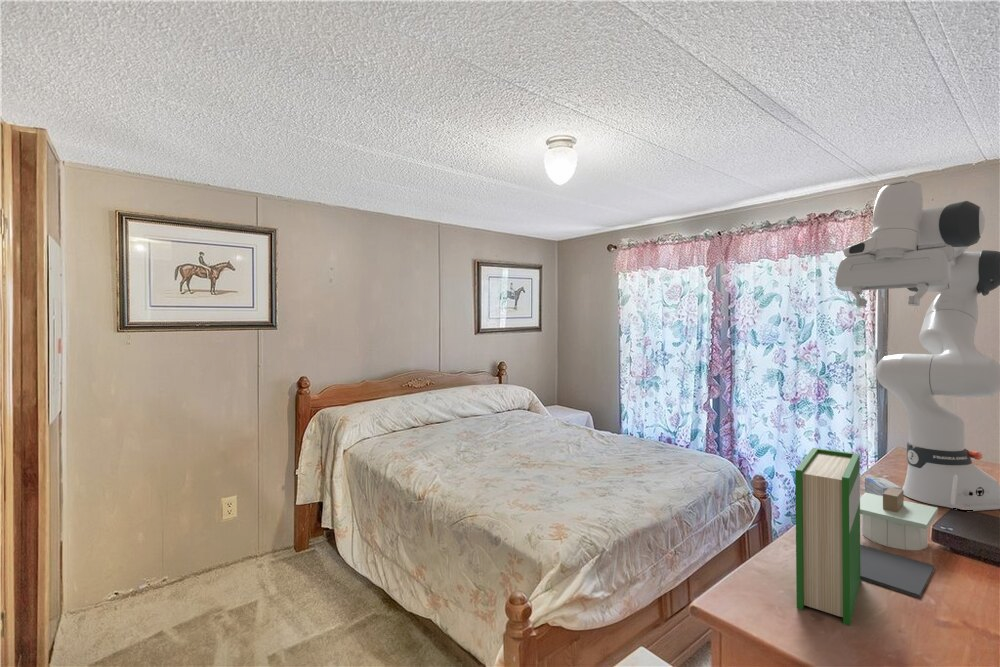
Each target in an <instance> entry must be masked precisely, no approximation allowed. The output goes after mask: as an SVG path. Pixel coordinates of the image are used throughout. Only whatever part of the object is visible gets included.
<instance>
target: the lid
mask: <svg viewBox="0 0 1000 667" xmlns="http://www.w3.org/2000/svg"><path fill="white" fill-rule="evenodd" d="M904 496H905V495H904V493H903V490H902V489H896V488H891V487H889V488H888V489H887V490H886V491H885V492H884V493H883V496H879V495H875V494H870V493H865V492H864V493H863V494H862V495H860V515H862V514H863V515H867V516H872V517H876V518H880V519H884V520H888V521H892V522H897V523H901V524H905V525H909V526H913V527H917V528H922V529H926V530H927V531H928V528H929V527H930V525H931V524H932V522H933V520H934V519H935V517H936V516H937V514H938V513H939V510H938V509H939V508H938V507H937V506H933V505H927V504H921V503H916V502H911V501H908V500H907V501H906V500H905V499H904Z"/></svg>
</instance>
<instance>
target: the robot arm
mask: <svg viewBox="0 0 1000 667" xmlns="http://www.w3.org/2000/svg"><path fill="white" fill-rule="evenodd" d="M923 201H924V200H923V188H922V185H921V183H919V182H916V181H901V182H896V183H895V182H894V183H891V184H888V185H887V184H886V185H884V186H883V187H881V189H880V190H879V192H878V193H877V196H876V200H875V202H874V203H875V204H874V207H873V211H872V212H873V213H872V219H871V220H872V225H873V226H872V227H873V229H872V231H871V233H870V236H869V237H868V238H867V239H865V240H862V241H860V242H858V243H855V244H852V245H850V246H847V247H845V248H844V249H843V254H844V258H843V259H842V260H841V261H840V262H839V264H838V267H837V271H836V276H835V281H834V284H835V287H836V288H837V289H839V290H840V291H842V292H851V293H852V294H853V295H854V298H855V299H856V303H855V305H856V306H855V307H857V308H858V309H860V308H861V309H862V308H863V309H864V308H867V306H868V305H867V304H868V300H867V299H866V298H862V297H861V295H863V291H874V290H891V289H907V290H908V291H911V292H914V293H915V294H914V295H909V296H908V301H907V302H908V306H910V307H918V306H919V307H920V302H921V299H922V298H923V297H924V295H925V294H926V293H928V292H930V293H933V292H934V293H938V294H937V295H936V296H935V297H934V299H933V300H932V302H931V303H930V305H929V307H928V308H927V310H926V312H925V315H924V319H923V322H922V325H921V329H920V332H919V335H918V340H919V341H918V342H919V344H920V345H921V346H922V348H924V349H925V350H926V351H927V352H928V353H908V352H907V353H897V354H891V355H890V354H888V355H884V356H883V357H882V358H881V359H880V360H879V361H877V362H878V363H877V365H876V366H875V376H876V380H877V381H878V383H879V384H880V385H881V386H882V387H883V388H884V389H885V390H887V391H889V392H890V393H891V394H892V395H893V396H894V397H895V398H896V399H897V400H898V401H899V402H900V404H901V405H902V407H903V409H904V412H905V414H906V419H907V426H908V427H907V428H908V442H906V459H907V470H906V476H905V480H904V483H903V486H902V487H901V488H902V489H903V493H904V496H905V497H908V498H909V499H913V500H915V501H918V502H921V503H926V504H929V505H932V506H940V507H944V508H950V509H953V508H964V509H969V510H973V511H972V512H978V511H991V510H994V511H995V510H1000V483H999V481H998V480H997V479H996V478H994V477H993V476H991V475H990V474H989V473H987V472H985V471H984V470H982V469H981V468H980V467H978V466H977V465H975V464H974V463H973V461H972V459H974V460H978V461H979V460H982V459H983V453H981V452H980V451H975V450H970V451H969V449H967V448H965V423H964V421H963V419H962V418H961V417H960V415H958V413H955V412H953V411H952V410H950V409H948V408H945V407H943V406H942V405H940V404H939V403H938V402H937V401H936V399H935V396H943V397H944V396H945V397H954V398H967V399H970V398H971V399H972V398H987V397H993V396H996V395H997V394H999V393H1000V363H999V362H998V361H996V360H995V359H993V358H991V357H989V356H986V355H985V354H983V353H981V352H980V351H979V349H977V348H976V346H975V336H976V335H975V334H976V329H977V326H978V325H977V324H978V318H979V306H978V300H977V299H978V295H979V294H982V296H983V297H984V296H988V295H989V293H990V292H991V291H993V290H995V289H997V288H998V287H999V286H1000V251H997V250H991V249H990V250H989V249H988V250H985V249H983V250H981V251H967V250H968V249H969V247H971V246H973V245H976V244H977V243H979V241H980V239H981V237H982V235H983V233H984V231H985V225H986V220H985V214H984V211H983V210H982V209H981V207H980V206H979V205H978V204H976V203H974V202H971V201H969V200H964V201H959V202H955V203H950V204H947V205H942V206H941V205H939V206H934V207H928V208H924V207H923V206H924V202H923Z"/></svg>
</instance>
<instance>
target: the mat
mask: <svg viewBox="0 0 1000 667" xmlns="http://www.w3.org/2000/svg"><path fill="white" fill-rule="evenodd" d="M935 569H936V565H934V564H931V563H928V562H923V561H920V560H917V559H913V558H910V557H906V556H903V555H900V554H896V553H893V552H888V551H885V550H881V549H878V548H875V547H871V546H867V545H864V544H861V543H860V576H861V580H862V581H866V582H870V583H872V584H875V585H878V586H881V587H885V588H888V589H890V590H893V591H897V592H900V593H903V594H906V595H908V596H911V597H915V598H918V599H920V598H921V596H922V594H923V592H924V591H925V588H926V587H927V585H928V582H929V581H930V578H931V576H932V575H933V573H934V571H935Z"/></svg>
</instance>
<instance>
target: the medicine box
mask: <svg viewBox="0 0 1000 667" xmlns="http://www.w3.org/2000/svg"><path fill="white" fill-rule="evenodd" d="M889 487H891V488H896V489H902V488H903V487H901V486H900V485H897V484H896V483H894V482H892V481H890V480H889V479H886V478H884V477H873V476H872V477H865V478H864V493H870V494H875V495H879V496H883V493H884V492H885V491H886V490H887V489H888V488H889ZM902 490H903V489H902Z"/></svg>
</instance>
